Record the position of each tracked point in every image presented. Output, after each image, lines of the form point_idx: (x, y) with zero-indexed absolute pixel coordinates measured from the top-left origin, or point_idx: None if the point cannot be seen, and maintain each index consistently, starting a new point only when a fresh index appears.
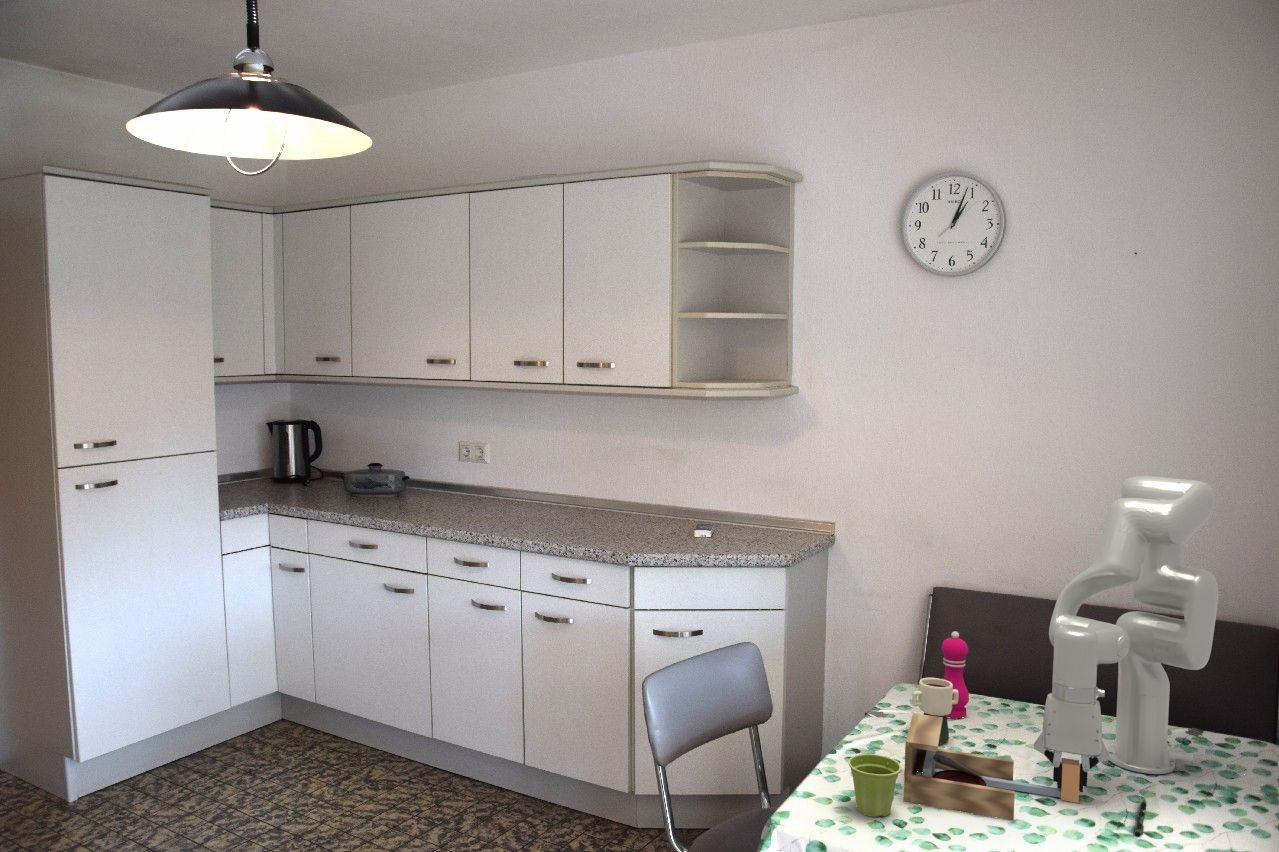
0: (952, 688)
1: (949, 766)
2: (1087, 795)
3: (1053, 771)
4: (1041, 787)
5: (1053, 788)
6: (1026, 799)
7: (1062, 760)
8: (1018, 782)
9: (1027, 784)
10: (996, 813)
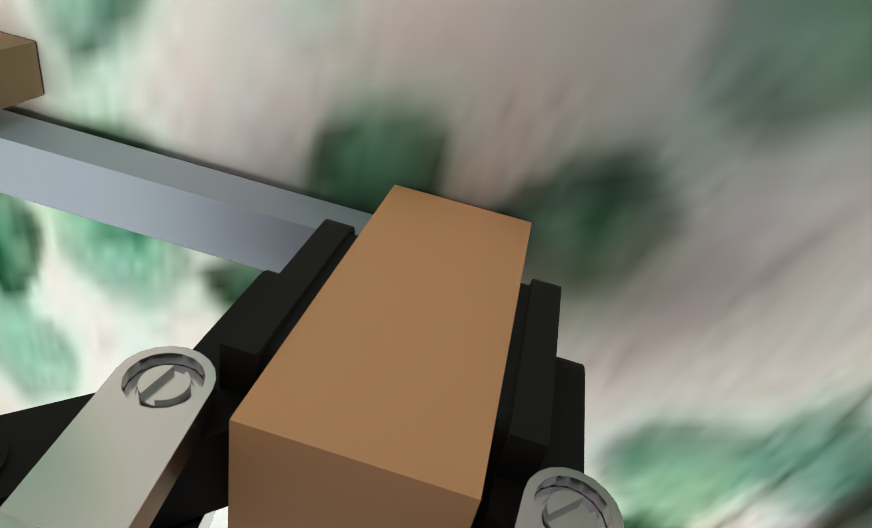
0: None
1: None
2: (654, 163)
3: (231, 310)
4: (214, 241)
5: None
6: (152, 283)
7: (234, 494)
8: (37, 162)
9: (107, 192)
10: None
